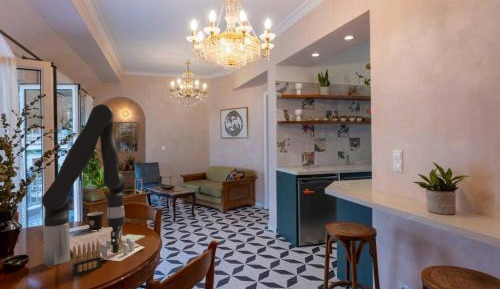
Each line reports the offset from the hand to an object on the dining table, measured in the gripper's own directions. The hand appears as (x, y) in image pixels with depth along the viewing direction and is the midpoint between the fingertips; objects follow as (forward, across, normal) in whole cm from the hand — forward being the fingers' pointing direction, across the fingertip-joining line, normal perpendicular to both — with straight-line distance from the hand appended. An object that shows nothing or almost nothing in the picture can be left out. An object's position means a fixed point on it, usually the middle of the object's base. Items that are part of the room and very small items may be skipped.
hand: (117, 249), depth 147 cm
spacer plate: (+2, 0, 0) cm, 2 cm away
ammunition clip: (+2, -18, +8) cm, 20 cm away
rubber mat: (+2, +19, -3) cm, 19 cm away
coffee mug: (+2, +46, +21) cm, 50 cm away
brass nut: (+1, 0, 0) cm, 1 cm away
